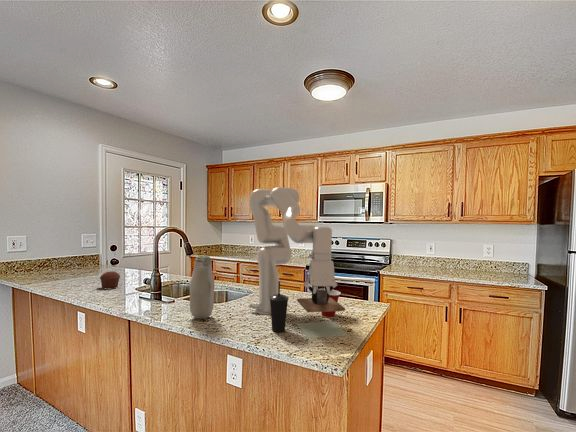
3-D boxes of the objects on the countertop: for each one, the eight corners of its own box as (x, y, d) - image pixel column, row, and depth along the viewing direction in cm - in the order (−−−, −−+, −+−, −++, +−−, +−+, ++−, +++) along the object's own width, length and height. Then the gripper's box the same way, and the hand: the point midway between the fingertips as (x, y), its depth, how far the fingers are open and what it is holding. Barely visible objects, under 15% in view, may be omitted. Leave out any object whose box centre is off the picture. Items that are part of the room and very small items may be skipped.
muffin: (107, 290, 184) (108, 273, 184) (94, 288, 188) (95, 272, 188) (124, 286, 195) (124, 271, 195) (112, 285, 199) (112, 270, 199)
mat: (308, 340, 109) (308, 338, 109) (296, 325, 124) (296, 323, 125) (348, 337, 113) (348, 335, 113) (332, 323, 128) (332, 321, 128)
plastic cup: (340, 321, 131) (340, 294, 131) (315, 319, 133) (316, 292, 134) (340, 314, 142) (341, 288, 142) (318, 312, 144) (318, 287, 144)
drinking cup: (272, 337, 111) (273, 283, 112) (266, 330, 118) (266, 280, 119) (291, 334, 115) (292, 282, 115) (283, 328, 122) (284, 279, 122)
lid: (307, 312, 110) (308, 296, 110) (297, 300, 125) (297, 286, 125) (345, 310, 114) (345, 295, 114) (330, 299, 129) (330, 285, 129)
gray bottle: (184, 320, 130) (186, 255, 130) (199, 313, 139) (201, 253, 140) (203, 323, 126) (204, 257, 127) (217, 316, 136) (218, 254, 136)
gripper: (304, 258, 114) (302, 306, 114) (344, 258, 118) (343, 304, 118) (299, 255, 121) (297, 300, 121) (337, 256, 125) (335, 299, 125)
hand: (320, 302), depth 119 cm, fingers closed on lid, 4 cm apart
